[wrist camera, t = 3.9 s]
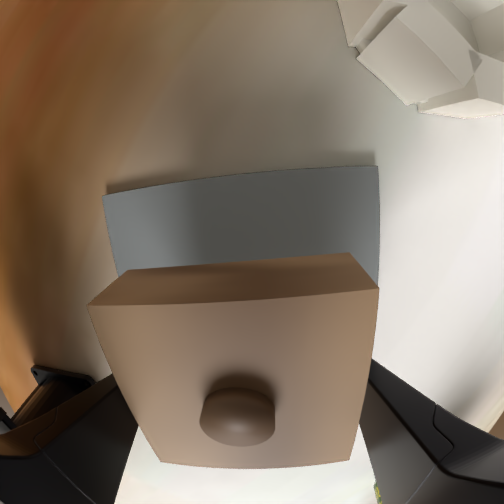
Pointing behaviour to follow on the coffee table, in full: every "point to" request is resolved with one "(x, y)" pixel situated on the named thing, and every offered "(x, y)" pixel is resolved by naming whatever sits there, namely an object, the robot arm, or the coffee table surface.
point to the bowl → (433, 51)
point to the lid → (243, 358)
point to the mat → (248, 218)
